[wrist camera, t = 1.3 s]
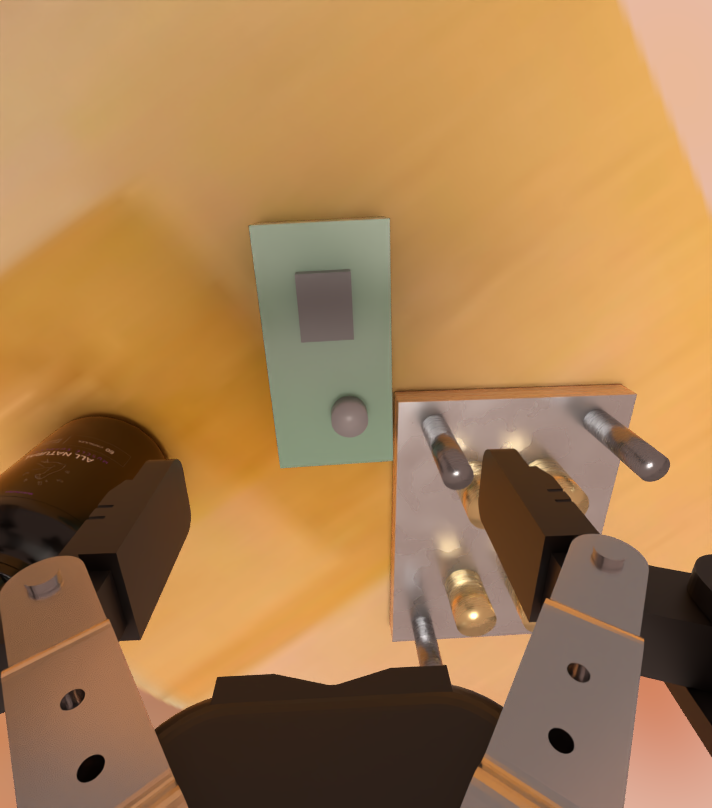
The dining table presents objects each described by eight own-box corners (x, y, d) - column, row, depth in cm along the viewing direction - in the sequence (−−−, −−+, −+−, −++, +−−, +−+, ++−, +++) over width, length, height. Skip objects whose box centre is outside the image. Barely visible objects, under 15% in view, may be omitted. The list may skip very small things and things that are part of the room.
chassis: (394, 392, 26) (414, 449, 20) (620, 384, 26) (706, 437, 20) (389, 623, 33) (403, 716, 27) (566, 613, 33) (617, 702, 27)
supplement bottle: (115, 389, 25) (-57, 539, 14) (195, 480, 27) (105, 667, 16) (20, 449, 26) (-209, 631, 15) (106, 530, 28) (-34, 738, 17)
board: (258, 222, 22) (244, 226, 18) (382, 216, 22) (392, 219, 19) (285, 441, 27) (278, 478, 23) (386, 434, 27) (395, 470, 23)
